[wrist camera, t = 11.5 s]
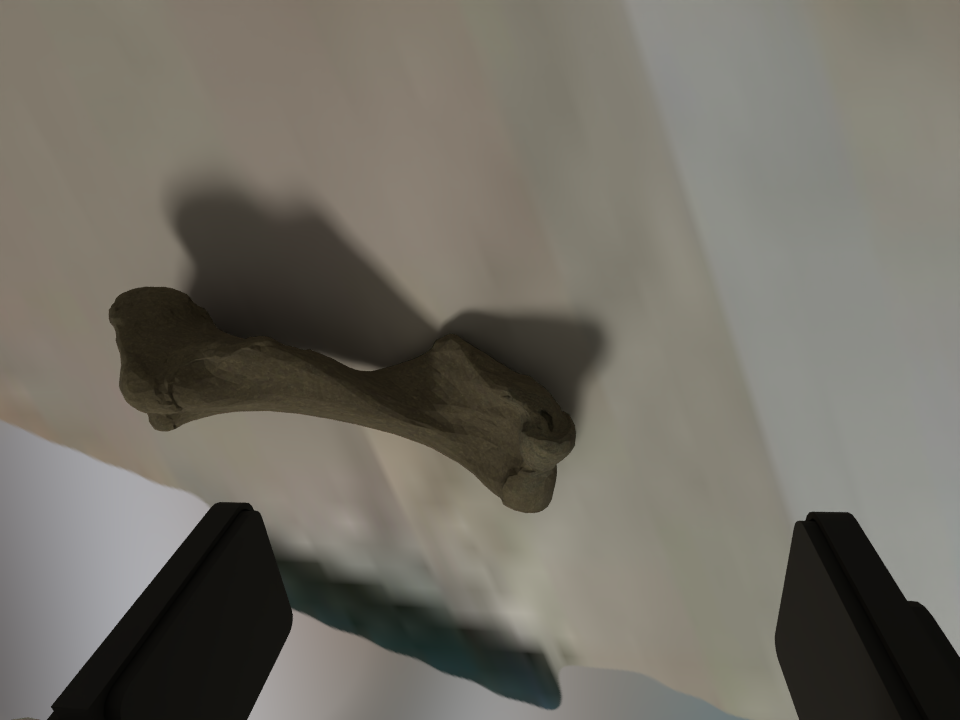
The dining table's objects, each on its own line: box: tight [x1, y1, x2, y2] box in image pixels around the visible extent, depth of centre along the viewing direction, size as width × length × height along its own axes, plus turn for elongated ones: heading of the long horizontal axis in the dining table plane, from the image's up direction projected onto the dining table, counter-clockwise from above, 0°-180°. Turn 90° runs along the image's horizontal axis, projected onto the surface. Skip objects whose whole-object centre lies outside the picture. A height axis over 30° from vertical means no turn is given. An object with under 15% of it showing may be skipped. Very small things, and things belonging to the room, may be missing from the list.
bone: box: [109, 287, 576, 513], centre depth 39 cm, size 10×10×30 cm
